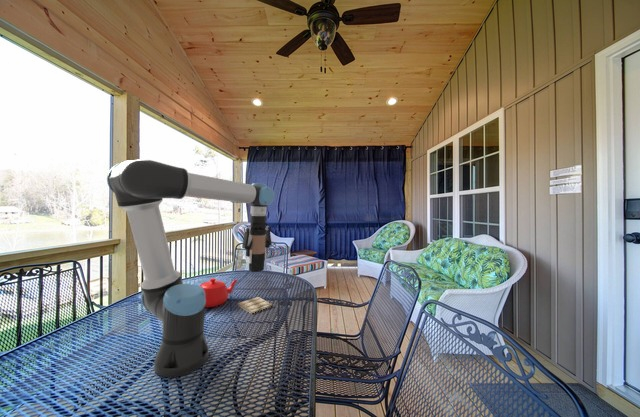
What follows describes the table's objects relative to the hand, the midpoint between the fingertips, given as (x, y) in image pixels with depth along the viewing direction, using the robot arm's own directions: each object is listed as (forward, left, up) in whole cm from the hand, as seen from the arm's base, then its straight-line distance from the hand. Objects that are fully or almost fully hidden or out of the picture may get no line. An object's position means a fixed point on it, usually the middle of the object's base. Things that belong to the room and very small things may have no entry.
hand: (256, 261), depth 116 cm
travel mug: (0, 0, -4) cm, 4 cm away
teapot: (-12, +18, -23) cm, 32 cm away
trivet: (+1, +1, -23) cm, 23 cm away
